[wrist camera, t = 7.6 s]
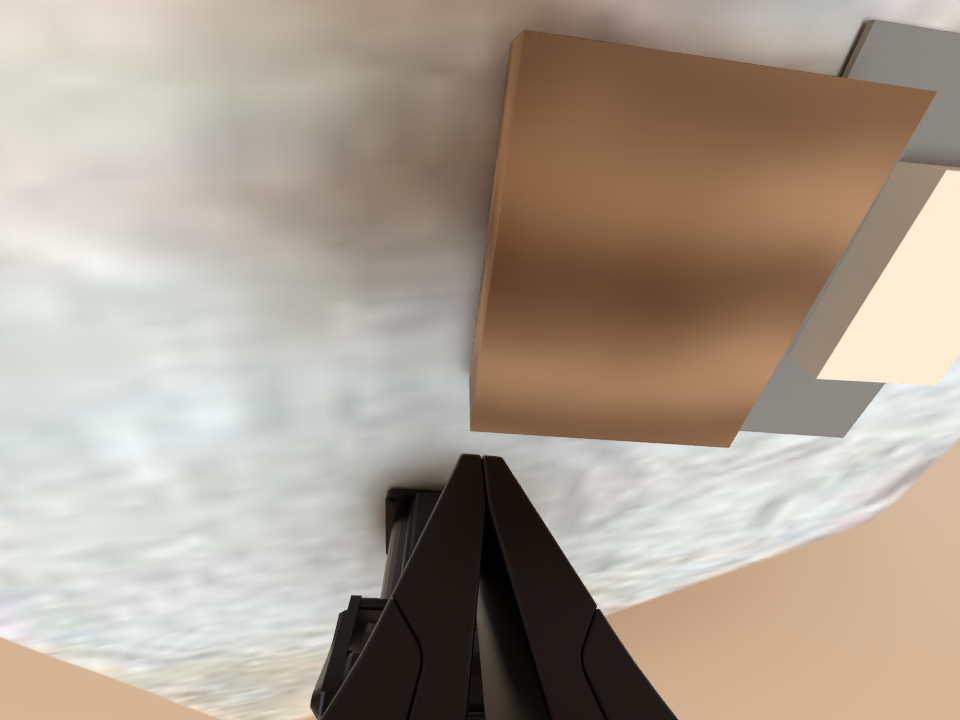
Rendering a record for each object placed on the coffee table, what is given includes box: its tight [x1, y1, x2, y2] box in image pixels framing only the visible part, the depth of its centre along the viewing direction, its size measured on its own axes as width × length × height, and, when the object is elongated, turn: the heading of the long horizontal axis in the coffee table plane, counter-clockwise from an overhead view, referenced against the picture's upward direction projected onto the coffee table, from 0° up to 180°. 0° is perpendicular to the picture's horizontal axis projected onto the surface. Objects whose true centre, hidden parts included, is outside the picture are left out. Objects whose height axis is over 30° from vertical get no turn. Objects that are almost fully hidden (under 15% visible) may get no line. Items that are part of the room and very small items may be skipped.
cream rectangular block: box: [789, 162, 960, 386], centre depth 18 cm, size 9×6×2 cm, turn 175°
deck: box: [469, 30, 937, 448], centre depth 17 cm, size 14×12×4 cm
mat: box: [739, 20, 960, 438], centre depth 20 cm, size 18×10×1 cm, turn 173°
